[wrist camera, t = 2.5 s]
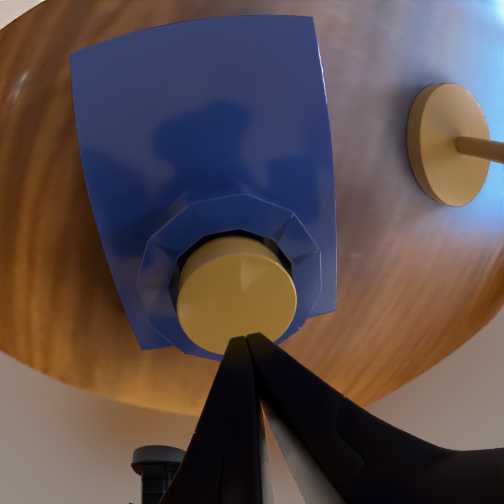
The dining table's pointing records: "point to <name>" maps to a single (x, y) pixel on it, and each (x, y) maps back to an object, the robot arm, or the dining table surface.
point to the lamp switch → (234, 293)
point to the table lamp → (450, 144)
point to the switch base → (207, 158)
